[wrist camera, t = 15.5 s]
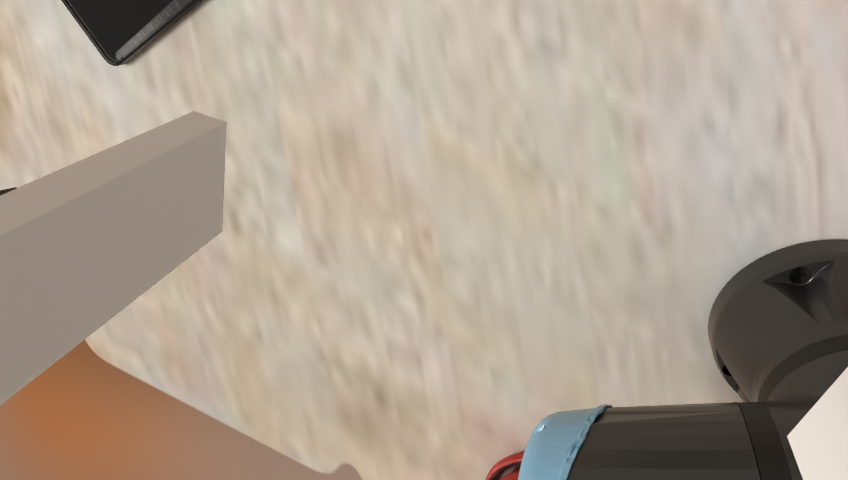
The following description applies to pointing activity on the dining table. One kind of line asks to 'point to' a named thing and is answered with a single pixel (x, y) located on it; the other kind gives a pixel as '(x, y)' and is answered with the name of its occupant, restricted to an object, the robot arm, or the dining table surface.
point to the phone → (126, 23)
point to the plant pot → (506, 468)
